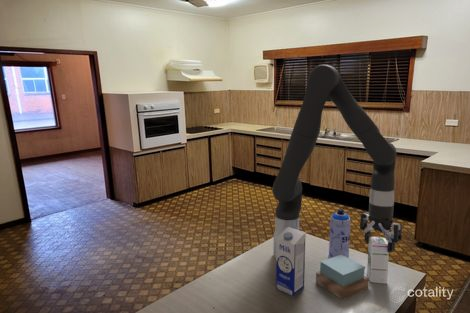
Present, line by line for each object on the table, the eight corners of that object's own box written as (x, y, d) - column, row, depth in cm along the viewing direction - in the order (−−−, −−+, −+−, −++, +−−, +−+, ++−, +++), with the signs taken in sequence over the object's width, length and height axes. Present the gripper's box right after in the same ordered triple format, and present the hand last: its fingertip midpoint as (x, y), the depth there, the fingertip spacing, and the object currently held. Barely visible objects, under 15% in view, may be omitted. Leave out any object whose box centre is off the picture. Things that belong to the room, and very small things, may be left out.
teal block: (320, 272, 114) (320, 261, 113) (340, 264, 119) (341, 254, 118) (342, 286, 105) (343, 275, 104) (363, 277, 110) (364, 266, 109)
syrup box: (387, 284, 112) (390, 244, 110) (369, 282, 114) (371, 243, 111) (383, 275, 118) (386, 237, 115) (366, 273, 119) (368, 235, 116)
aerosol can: (339, 265, 125) (342, 215, 121) (323, 256, 132) (325, 209, 128) (353, 259, 129) (356, 210, 126) (337, 251, 136) (339, 205, 132)
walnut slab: (315, 283, 114) (316, 272, 114) (339, 273, 121) (340, 263, 120) (343, 301, 104) (344, 289, 104) (368, 289, 111) (368, 278, 110)
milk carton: (304, 287, 111) (306, 231, 107) (293, 296, 106) (294, 238, 102) (286, 280, 116) (287, 226, 112) (275, 288, 111) (276, 232, 107)
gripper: (356, 198, 115) (354, 242, 117) (394, 209, 103) (391, 258, 106) (370, 194, 118) (368, 237, 121) (408, 205, 107) (405, 252, 109)
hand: (378, 247), depth 113 cm, fingers open, 8 cm apart
